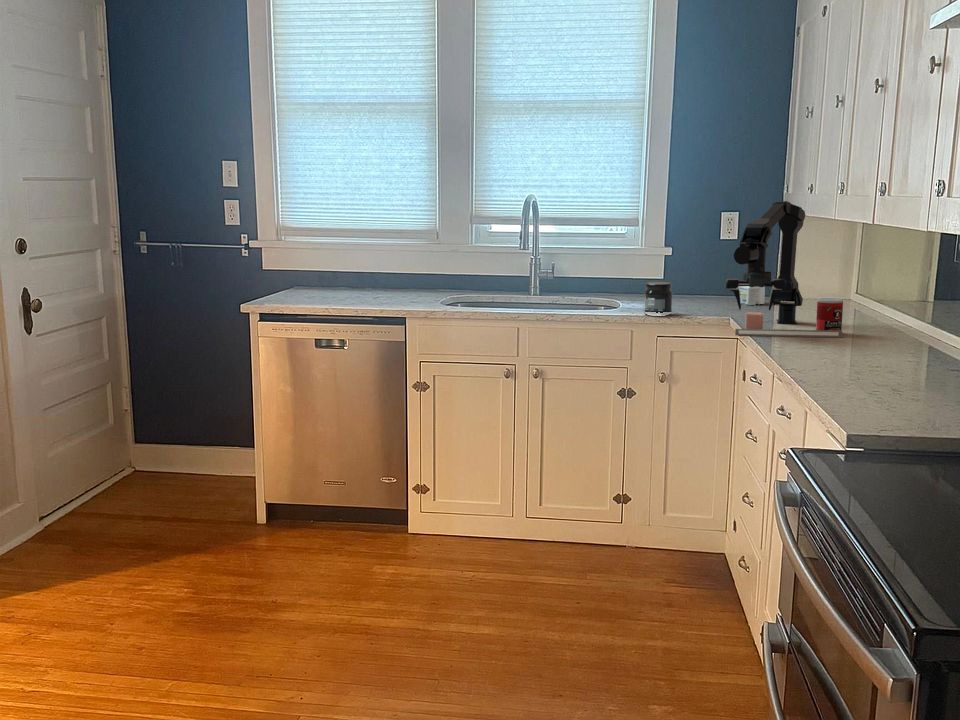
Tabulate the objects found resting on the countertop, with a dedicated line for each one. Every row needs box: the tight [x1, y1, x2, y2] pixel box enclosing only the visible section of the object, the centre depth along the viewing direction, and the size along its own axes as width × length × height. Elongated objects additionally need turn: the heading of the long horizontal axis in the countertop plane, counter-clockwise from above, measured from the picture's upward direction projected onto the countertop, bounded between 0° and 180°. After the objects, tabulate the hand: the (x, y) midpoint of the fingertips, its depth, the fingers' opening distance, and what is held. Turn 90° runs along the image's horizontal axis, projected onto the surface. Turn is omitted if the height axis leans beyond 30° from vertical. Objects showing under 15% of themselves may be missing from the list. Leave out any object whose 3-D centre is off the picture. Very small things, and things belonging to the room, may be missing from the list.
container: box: [738, 271, 766, 305], centre depth 359 cm, size 8×8×13 cm
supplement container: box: [643, 281, 674, 313], centre depth 334 cm, size 10×10×12 cm
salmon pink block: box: [744, 311, 764, 329], centre depth 291 cm, size 5×8×6 cm
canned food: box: [815, 297, 844, 332], centre depth 284 cm, size 8×8×11 cm
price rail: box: [734, 328, 843, 338], centre depth 282 cm, size 1×32×2 cm, turn 76°
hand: (754, 310), depth 291 cm, fingers open, 9 cm apart
